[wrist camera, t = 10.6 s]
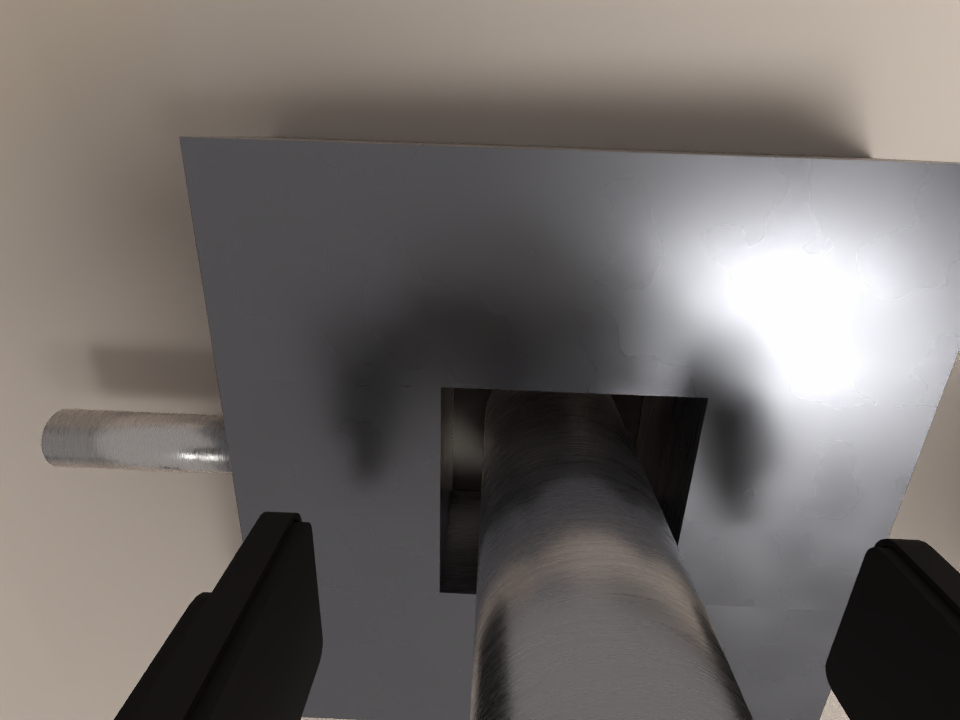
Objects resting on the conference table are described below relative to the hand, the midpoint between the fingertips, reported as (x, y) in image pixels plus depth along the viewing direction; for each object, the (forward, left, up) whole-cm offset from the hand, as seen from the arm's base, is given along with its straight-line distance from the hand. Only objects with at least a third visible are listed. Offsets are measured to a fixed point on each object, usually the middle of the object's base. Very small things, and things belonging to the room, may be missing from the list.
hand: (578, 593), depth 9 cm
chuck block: (+2, 0, -6) cm, 7 cm away
